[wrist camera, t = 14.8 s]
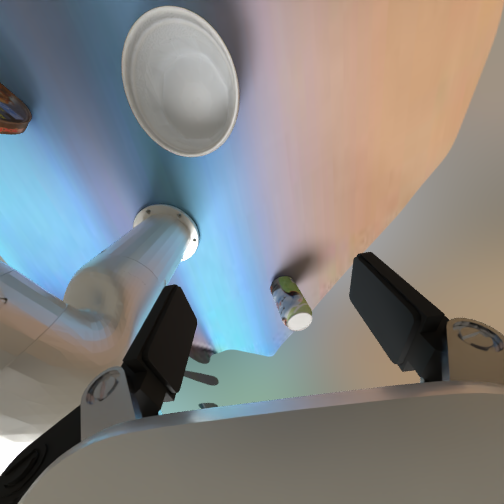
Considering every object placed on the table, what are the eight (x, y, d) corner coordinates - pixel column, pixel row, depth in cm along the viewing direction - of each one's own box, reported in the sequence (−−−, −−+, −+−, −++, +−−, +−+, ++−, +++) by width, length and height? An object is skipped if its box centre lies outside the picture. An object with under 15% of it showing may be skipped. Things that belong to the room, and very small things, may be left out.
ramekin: (225, 167, 32) (219, 173, 26) (144, 132, 29) (117, 130, 23) (254, 70, 25) (256, 48, 19) (156, 14, 23) (122, -32, 17)
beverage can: (266, 278, 44) (271, 320, 34) (295, 268, 43) (310, 308, 32) (274, 296, 47) (282, 339, 37) (302, 287, 46) (318, 329, 35)
